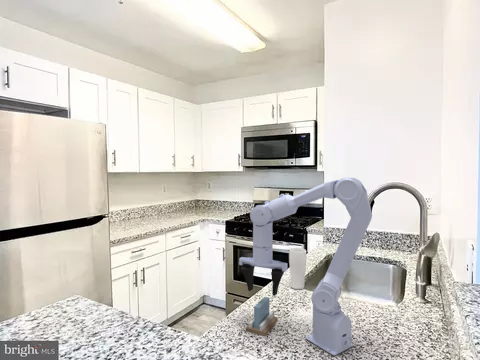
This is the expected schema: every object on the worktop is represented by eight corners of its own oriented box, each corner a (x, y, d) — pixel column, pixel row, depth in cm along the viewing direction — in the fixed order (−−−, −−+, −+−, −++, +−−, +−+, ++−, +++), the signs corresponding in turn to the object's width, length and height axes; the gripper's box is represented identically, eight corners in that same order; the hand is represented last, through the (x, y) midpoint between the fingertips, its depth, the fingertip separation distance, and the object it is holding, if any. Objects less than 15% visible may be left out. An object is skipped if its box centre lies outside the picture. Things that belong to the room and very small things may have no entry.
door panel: (259, 329, 81) (259, 307, 81) (253, 328, 82) (254, 306, 82) (269, 317, 88) (269, 297, 88) (264, 316, 89) (264, 296, 89)
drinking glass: (286, 288, 115) (286, 250, 115) (291, 283, 121) (292, 247, 121) (303, 291, 111) (303, 252, 111) (308, 286, 117) (308, 249, 117)
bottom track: (259, 316, 91) (259, 308, 91) (277, 320, 88) (277, 312, 88) (245, 331, 82) (245, 321, 82) (265, 336, 79) (265, 326, 79)
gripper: (290, 245, 86) (290, 291, 86) (246, 240, 92) (246, 283, 92) (283, 250, 79) (283, 300, 79) (236, 245, 86) (235, 291, 86)
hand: (262, 292), depth 85 cm, fingers open, 7 cm apart
